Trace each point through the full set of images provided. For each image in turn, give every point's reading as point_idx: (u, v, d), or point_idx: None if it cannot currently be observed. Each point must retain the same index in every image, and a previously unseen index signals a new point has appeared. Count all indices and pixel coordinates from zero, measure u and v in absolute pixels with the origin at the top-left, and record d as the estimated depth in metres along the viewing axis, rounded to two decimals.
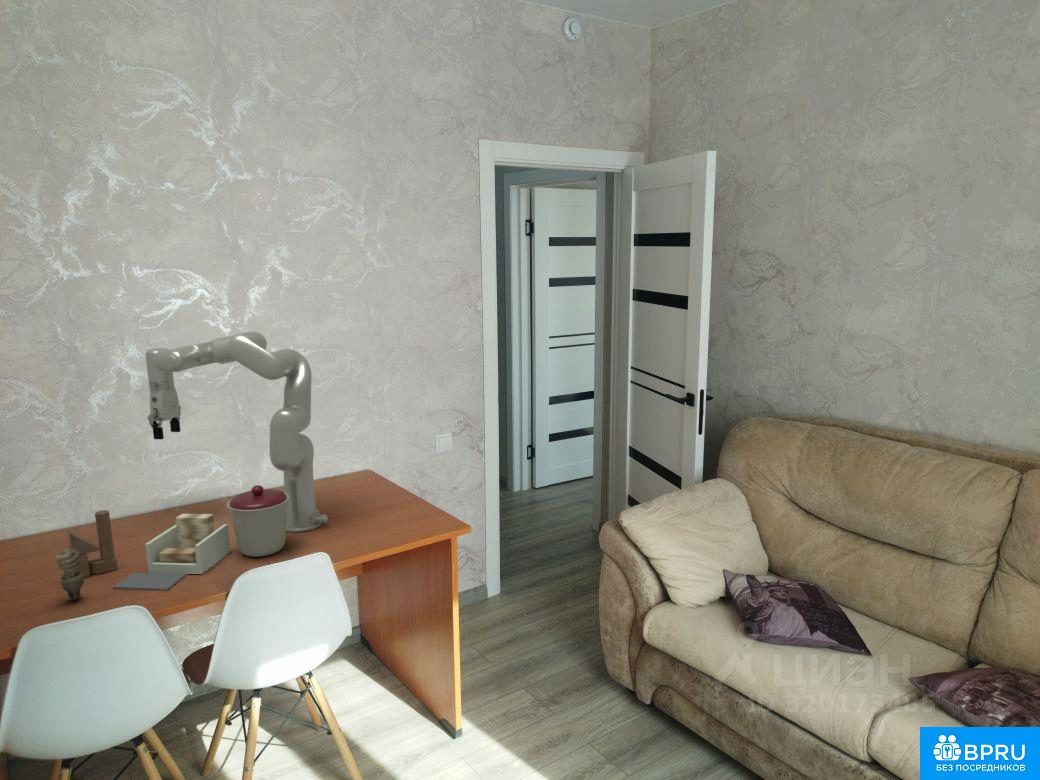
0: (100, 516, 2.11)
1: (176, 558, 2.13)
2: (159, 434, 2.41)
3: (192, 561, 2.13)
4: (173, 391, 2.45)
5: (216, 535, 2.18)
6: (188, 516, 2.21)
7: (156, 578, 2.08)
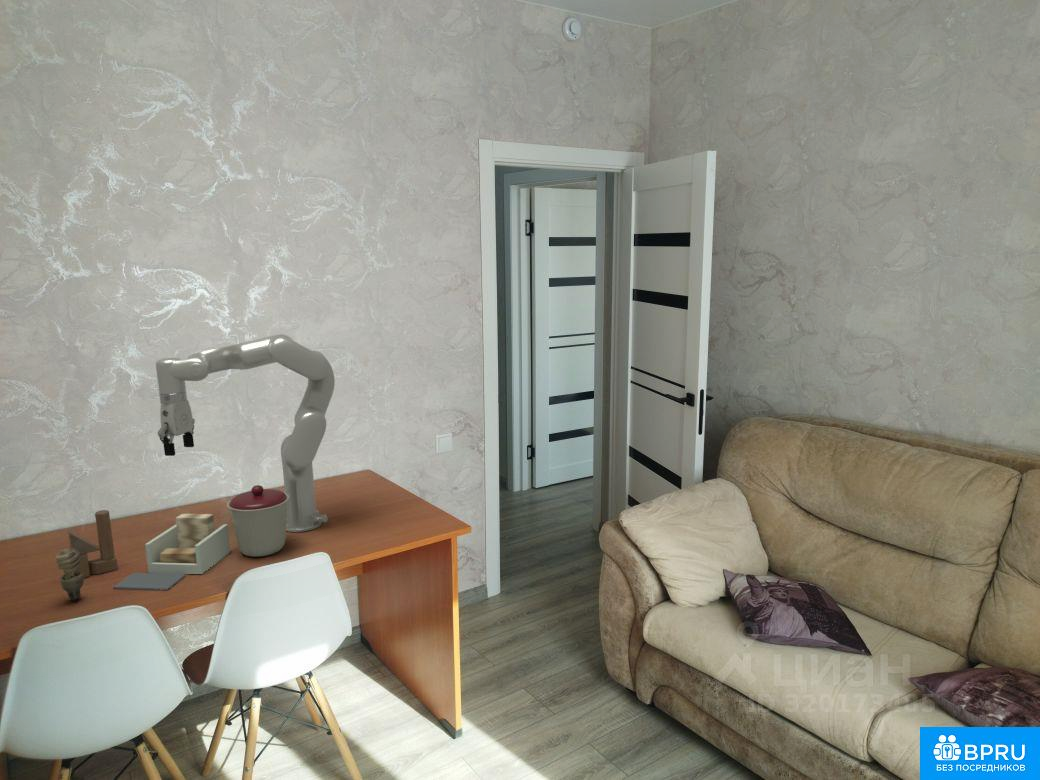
0: (100, 516, 2.11)
1: (177, 558, 2.13)
2: (170, 450, 2.23)
3: (193, 561, 2.13)
4: (185, 404, 2.28)
5: (216, 535, 2.18)
6: (188, 516, 2.21)
7: (156, 578, 2.08)
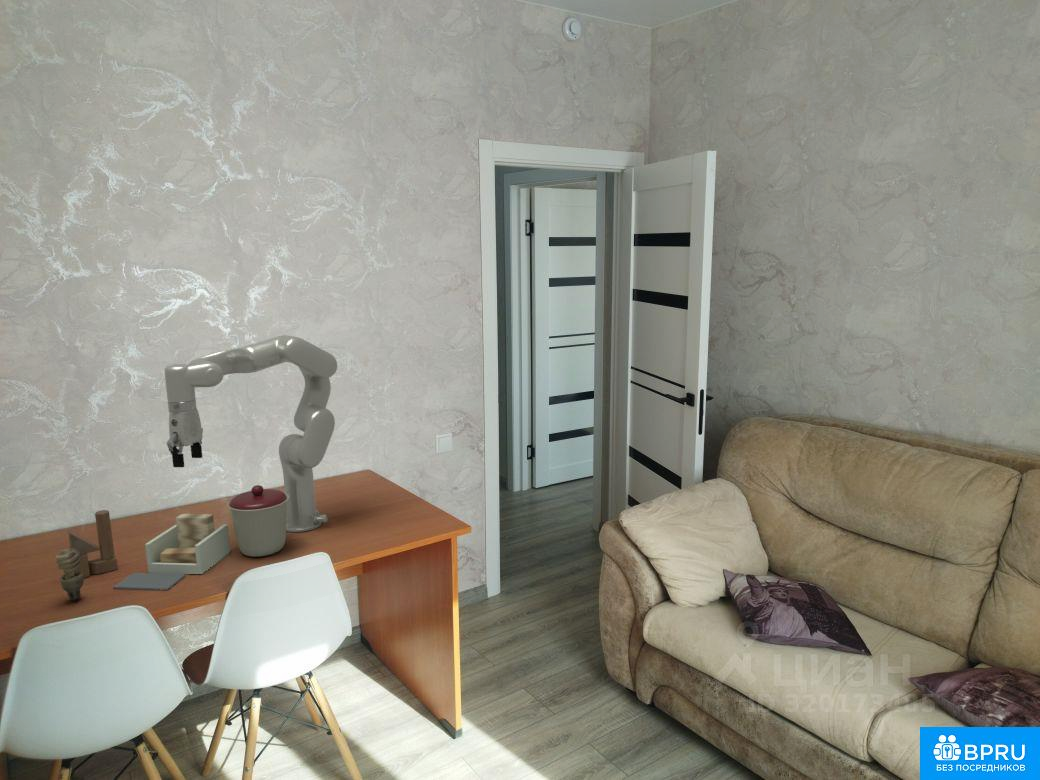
0: (100, 516, 2.11)
1: (177, 558, 2.13)
2: (179, 461, 2.13)
3: (194, 561, 2.13)
4: (195, 412, 2.17)
5: (216, 535, 2.18)
6: (188, 516, 2.21)
7: (156, 578, 2.08)
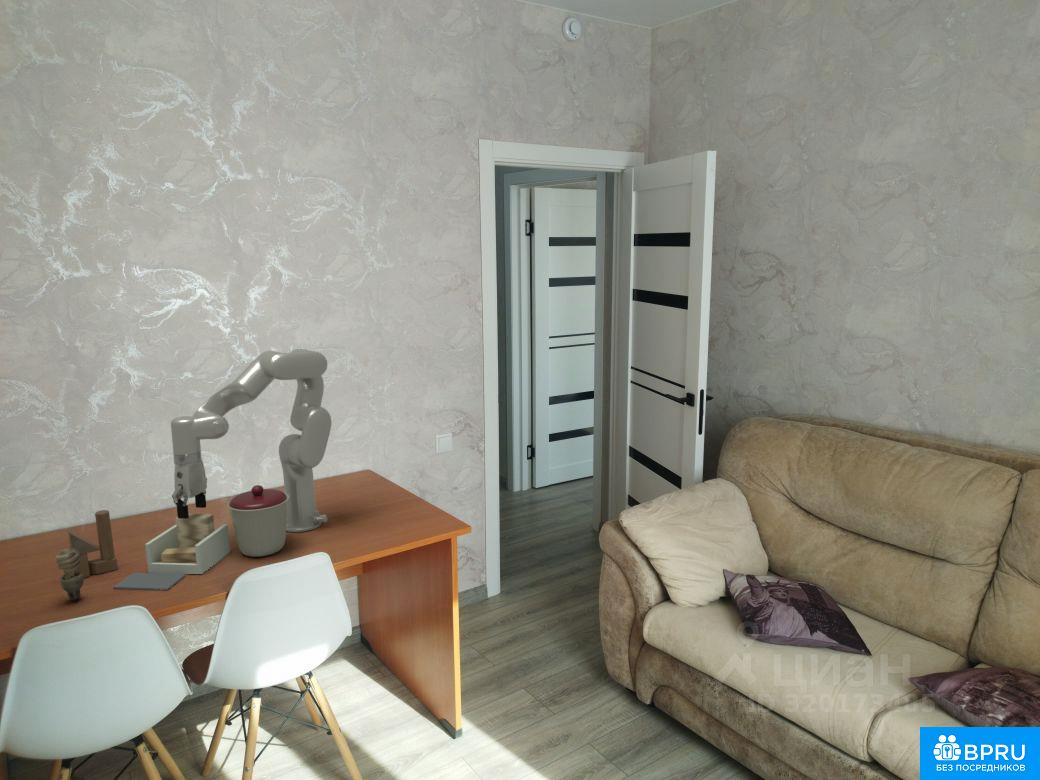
0: (100, 516, 2.11)
1: (179, 557, 2.13)
2: (184, 513, 2.15)
3: None
4: (200, 464, 2.20)
5: (216, 535, 2.18)
6: None
7: (156, 578, 2.08)
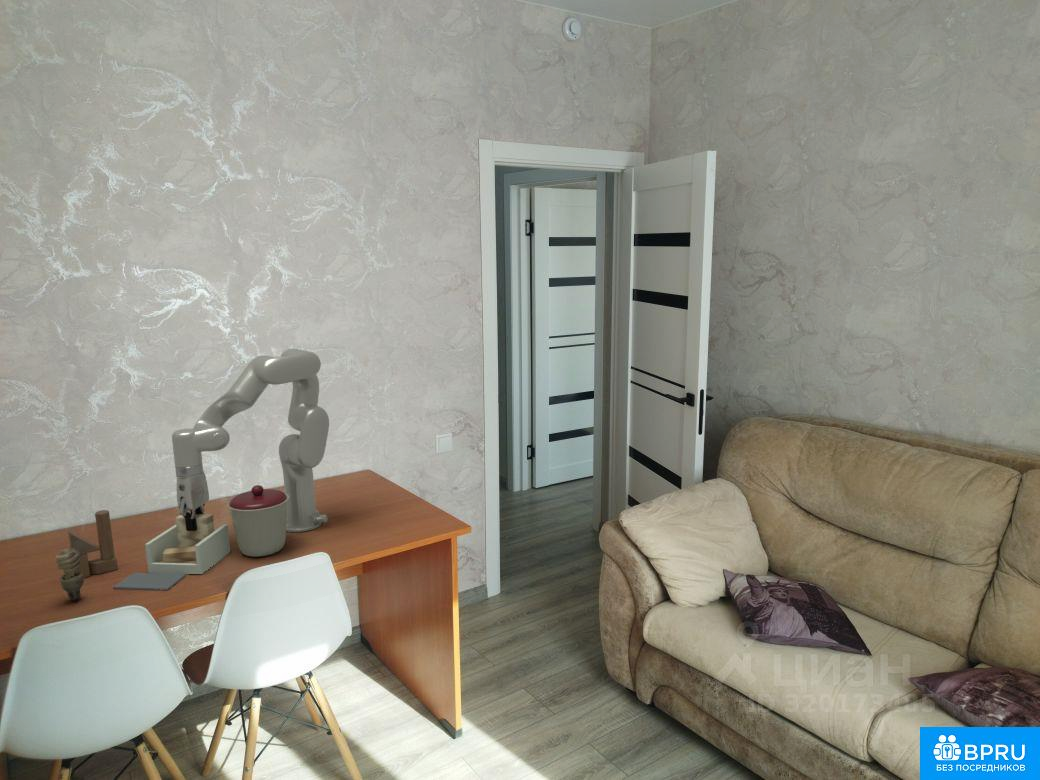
0: (100, 516, 2.11)
1: (181, 557, 2.13)
2: (192, 526, 2.19)
3: None
4: (202, 475, 2.21)
5: (216, 535, 2.18)
6: None
7: (156, 578, 2.08)
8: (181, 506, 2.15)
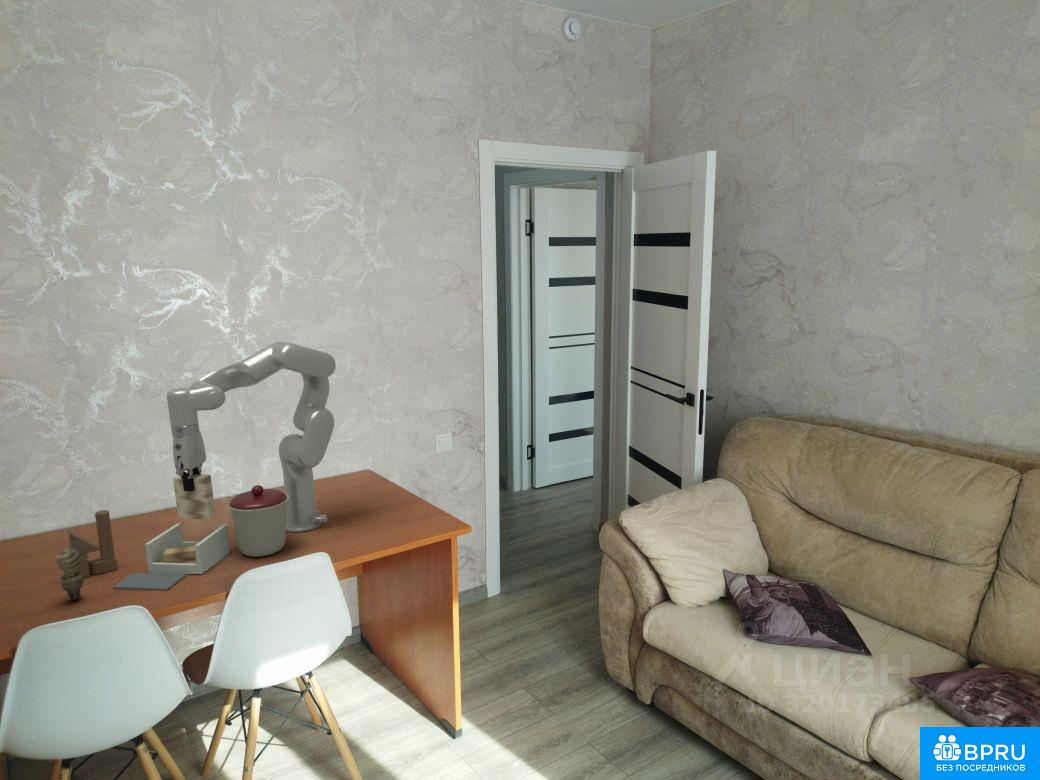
0: (100, 516, 2.11)
1: (182, 556, 2.13)
2: (190, 486, 2.17)
3: None
4: (198, 435, 2.19)
5: (216, 535, 2.18)
6: None
7: (156, 578, 2.08)
8: (178, 465, 2.13)
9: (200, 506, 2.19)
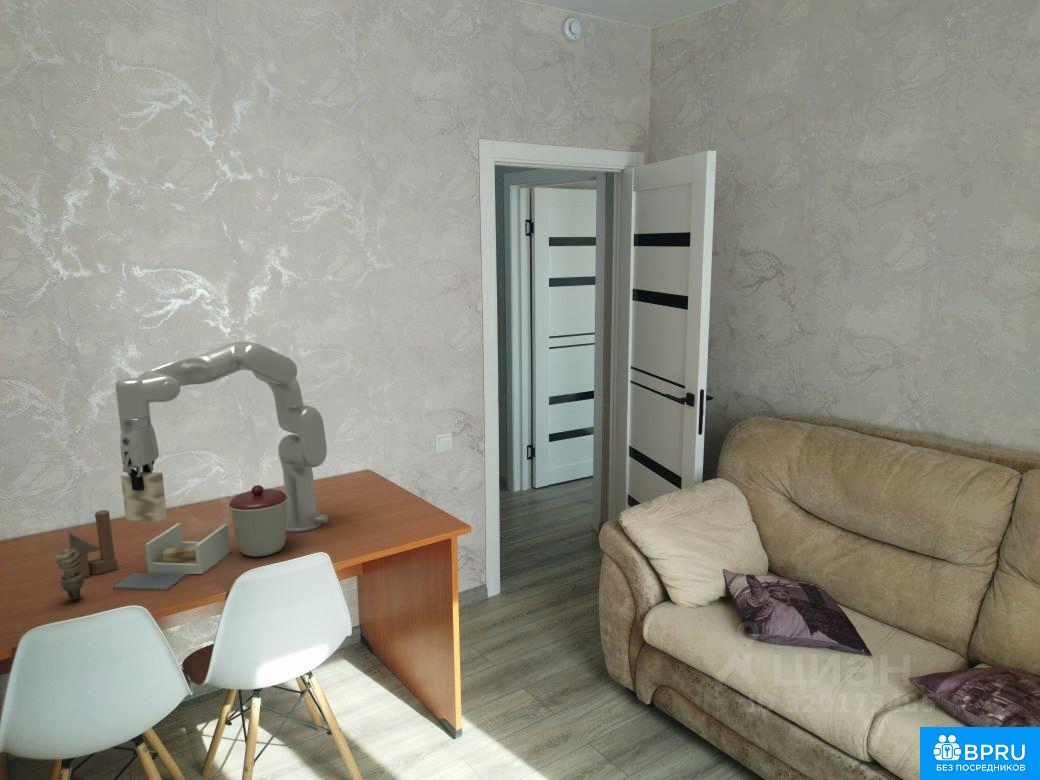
0: (100, 516, 2.11)
1: (181, 556, 2.14)
2: (139, 484, 2.00)
3: None
4: (150, 430, 2.01)
5: (216, 535, 2.18)
6: None
7: (156, 578, 2.08)
8: (125, 462, 1.95)
9: (150, 507, 2.02)
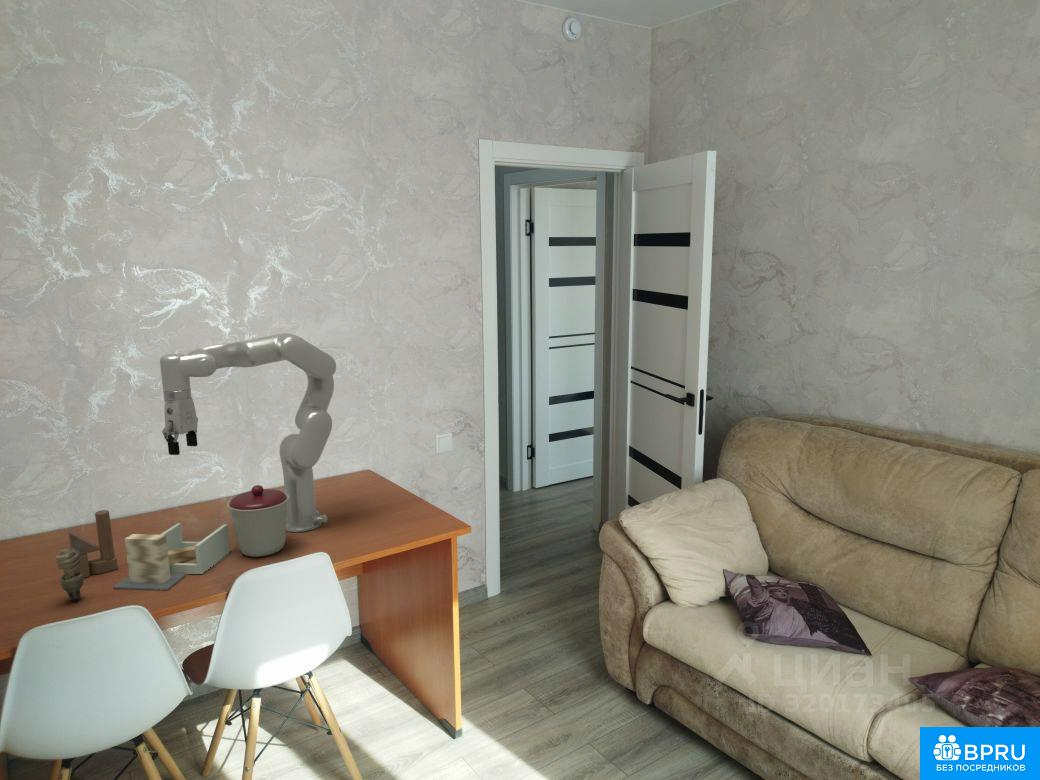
0: (100, 516, 2.11)
1: (183, 556, 2.13)
2: (175, 449, 2.17)
3: None
4: (190, 401, 2.22)
5: (216, 535, 2.18)
6: (138, 537, 2.04)
7: None
8: (166, 425, 2.14)
9: (153, 569, 2.04)
